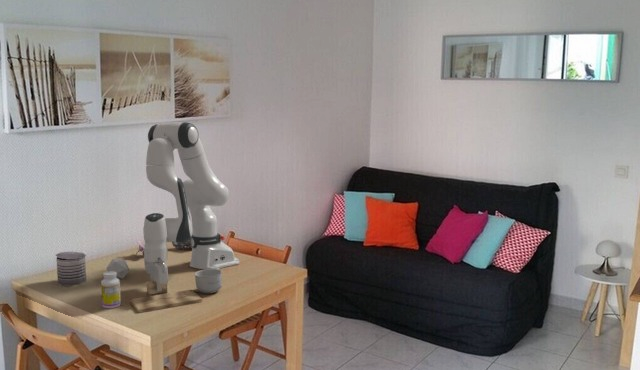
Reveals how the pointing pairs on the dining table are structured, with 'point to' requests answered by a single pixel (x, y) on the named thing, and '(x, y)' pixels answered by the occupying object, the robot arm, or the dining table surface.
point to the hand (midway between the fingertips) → (157, 288)
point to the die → (118, 267)
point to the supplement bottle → (110, 290)
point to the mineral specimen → (182, 244)
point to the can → (71, 268)
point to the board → (165, 300)
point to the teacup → (208, 280)
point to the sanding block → (152, 288)
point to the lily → (140, 246)
